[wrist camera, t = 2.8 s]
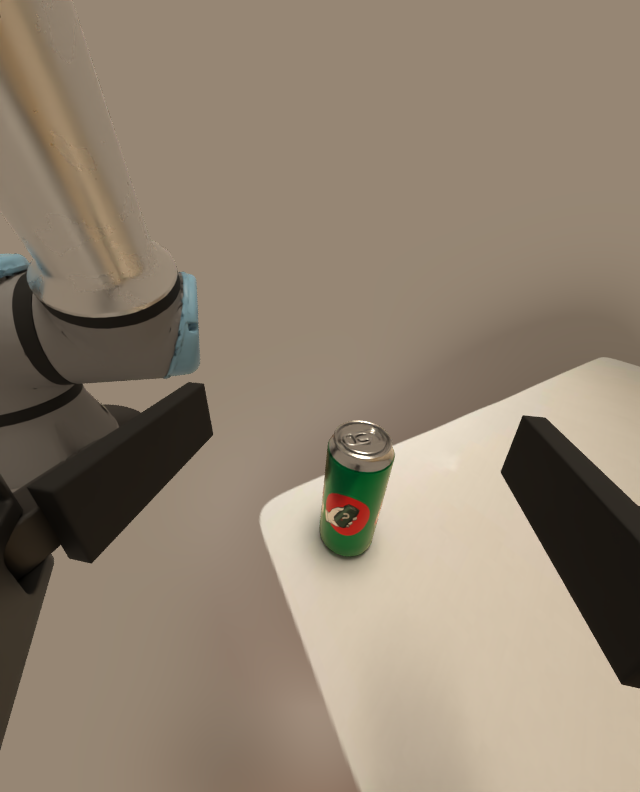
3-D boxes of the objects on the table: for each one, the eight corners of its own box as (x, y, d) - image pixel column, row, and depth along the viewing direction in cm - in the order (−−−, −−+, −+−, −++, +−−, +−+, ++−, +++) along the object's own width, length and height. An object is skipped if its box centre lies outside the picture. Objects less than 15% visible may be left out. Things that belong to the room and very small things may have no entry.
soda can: (381, 552, 26) (411, 455, 19) (328, 566, 24) (342, 468, 18) (359, 505, 30) (378, 413, 23) (313, 516, 28) (320, 421, 22)
